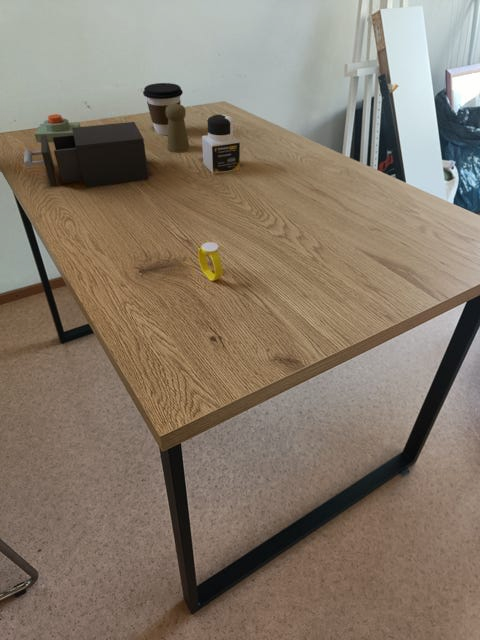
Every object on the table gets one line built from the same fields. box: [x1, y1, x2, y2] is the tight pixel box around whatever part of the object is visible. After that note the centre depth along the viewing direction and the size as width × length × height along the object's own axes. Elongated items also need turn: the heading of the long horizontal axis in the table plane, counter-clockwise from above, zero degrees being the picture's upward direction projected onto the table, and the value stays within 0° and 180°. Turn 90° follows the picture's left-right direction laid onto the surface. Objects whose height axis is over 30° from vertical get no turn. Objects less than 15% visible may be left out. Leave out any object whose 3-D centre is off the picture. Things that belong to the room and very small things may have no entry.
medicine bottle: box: [201, 114, 241, 175], centre depth 109 cm, size 7×7×12 cm
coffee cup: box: [142, 82, 183, 136], centre depth 129 cm, size 11×11×12 cm
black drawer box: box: [72, 121, 150, 189], centre depth 106 cm, size 15×13×10 cm
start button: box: [47, 113, 63, 124], centre depth 127 cm, size 4×4×2 cm
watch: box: [197, 241, 223, 282], centre depth 75 cm, size 6×3×6 cm, turn 32°
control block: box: [34, 117, 81, 143], centre depth 128 cm, size 11×9×4 cm
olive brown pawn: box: [165, 103, 190, 153], centre depth 119 cm, size 6×6×11 cm
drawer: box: [23, 134, 84, 187], centre depth 104 cm, size 18×11×8 cm, turn 109°
